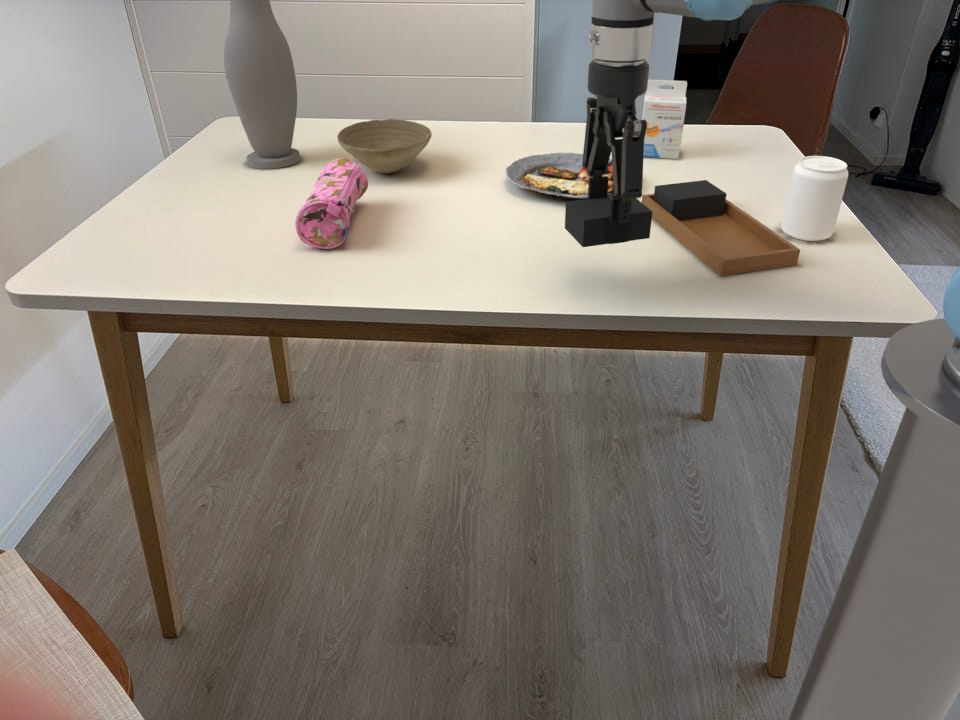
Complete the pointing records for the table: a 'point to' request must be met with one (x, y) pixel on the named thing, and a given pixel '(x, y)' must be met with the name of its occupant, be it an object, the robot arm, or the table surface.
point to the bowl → (385, 143)
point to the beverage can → (814, 198)
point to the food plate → (555, 174)
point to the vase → (262, 83)
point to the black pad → (603, 221)
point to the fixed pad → (691, 199)
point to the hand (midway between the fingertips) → (606, 231)
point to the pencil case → (331, 204)
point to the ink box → (664, 118)
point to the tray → (728, 240)
